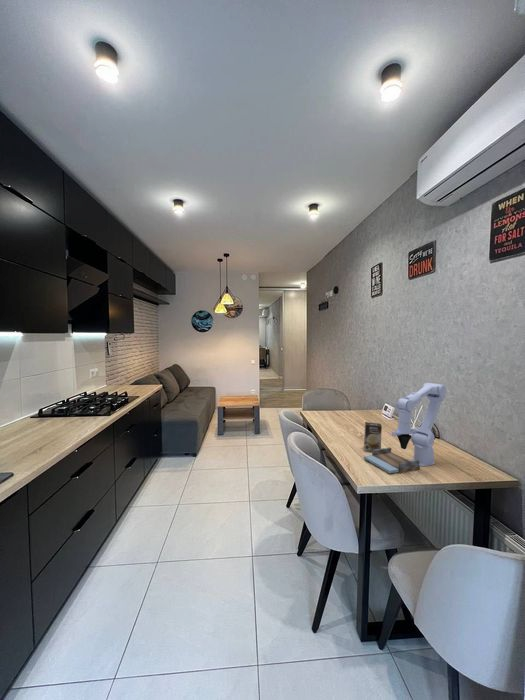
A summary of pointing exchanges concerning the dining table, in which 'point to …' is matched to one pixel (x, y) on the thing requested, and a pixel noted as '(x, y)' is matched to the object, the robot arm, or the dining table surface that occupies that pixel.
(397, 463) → the flatbed
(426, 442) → the robot arm
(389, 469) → the bar
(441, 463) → the dining table surface
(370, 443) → the coffee box
